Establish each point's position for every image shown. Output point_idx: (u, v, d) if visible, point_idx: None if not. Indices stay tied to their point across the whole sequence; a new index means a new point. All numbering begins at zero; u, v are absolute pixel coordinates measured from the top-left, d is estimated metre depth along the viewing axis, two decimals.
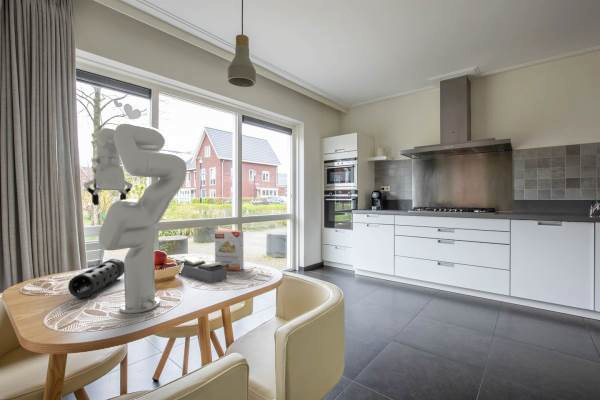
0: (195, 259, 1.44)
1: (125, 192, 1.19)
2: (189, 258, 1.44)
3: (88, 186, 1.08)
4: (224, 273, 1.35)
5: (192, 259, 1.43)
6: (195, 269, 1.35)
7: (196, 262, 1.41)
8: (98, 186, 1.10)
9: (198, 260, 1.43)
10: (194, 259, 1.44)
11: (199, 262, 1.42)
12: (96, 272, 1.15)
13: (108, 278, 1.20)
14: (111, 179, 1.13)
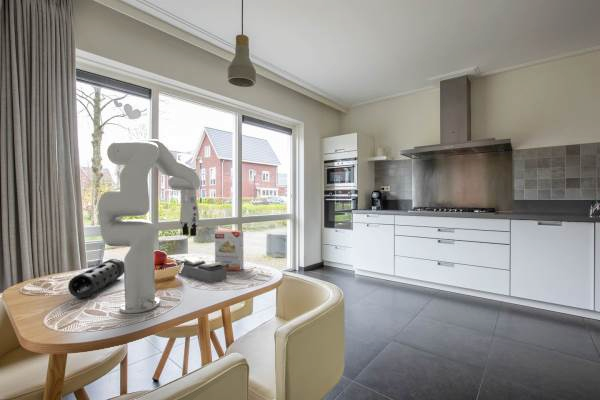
0: (195, 259, 1.44)
1: None
2: (189, 258, 1.44)
3: None
4: (224, 273, 1.35)
5: (192, 259, 1.43)
6: (195, 269, 1.35)
7: (196, 262, 1.41)
8: (198, 219, 1.44)
9: (198, 260, 1.43)
10: (194, 259, 1.44)
11: (199, 262, 1.42)
12: (96, 272, 1.15)
13: (108, 278, 1.20)
14: None
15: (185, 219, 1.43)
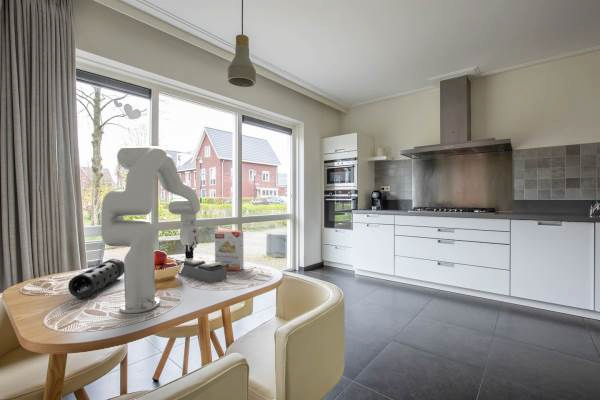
0: (195, 259, 1.44)
1: None
2: (189, 258, 1.44)
3: None
4: (224, 273, 1.35)
5: (192, 259, 1.43)
6: (195, 269, 1.35)
7: (196, 262, 1.41)
8: (198, 242, 1.45)
9: (198, 260, 1.43)
10: (194, 259, 1.44)
11: (199, 262, 1.42)
12: (96, 272, 1.15)
13: (108, 278, 1.20)
14: None
15: (185, 242, 1.44)
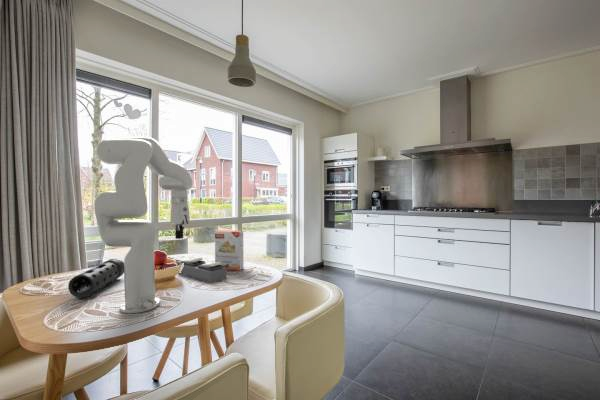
0: None
1: None
2: None
3: None
4: (224, 273, 1.35)
5: (191, 259, 1.43)
6: (195, 269, 1.35)
7: (196, 259, 1.41)
8: (189, 221, 1.38)
9: None
10: None
11: (199, 259, 1.42)
12: (96, 272, 1.15)
13: (108, 278, 1.20)
14: None
15: (175, 221, 1.37)
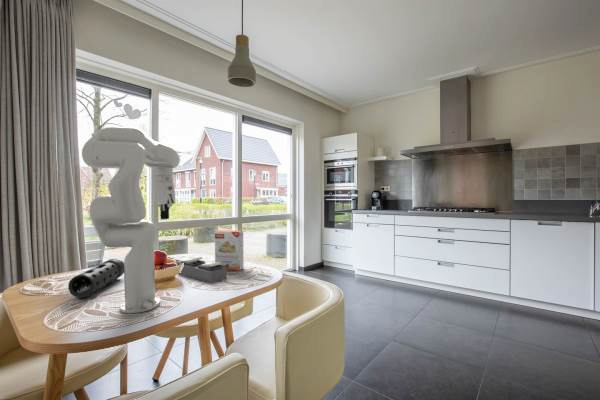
0: None
1: None
2: None
3: None
4: (224, 273, 1.35)
5: None
6: (195, 269, 1.35)
7: (195, 258, 1.41)
8: None
9: None
10: None
11: (198, 258, 1.42)
12: (96, 272, 1.15)
13: (108, 278, 1.20)
14: None
15: (160, 200, 1.30)
